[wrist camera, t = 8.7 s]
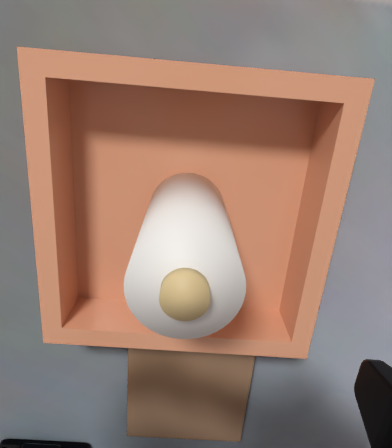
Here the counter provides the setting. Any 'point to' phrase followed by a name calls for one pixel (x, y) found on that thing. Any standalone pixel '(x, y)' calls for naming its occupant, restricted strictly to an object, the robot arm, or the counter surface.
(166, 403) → the brown flat square pad
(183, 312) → the white cylinder with knob
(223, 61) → the counter surface
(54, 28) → the counter surface
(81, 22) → the counter surface
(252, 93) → the salmon square tray
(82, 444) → the robot arm
